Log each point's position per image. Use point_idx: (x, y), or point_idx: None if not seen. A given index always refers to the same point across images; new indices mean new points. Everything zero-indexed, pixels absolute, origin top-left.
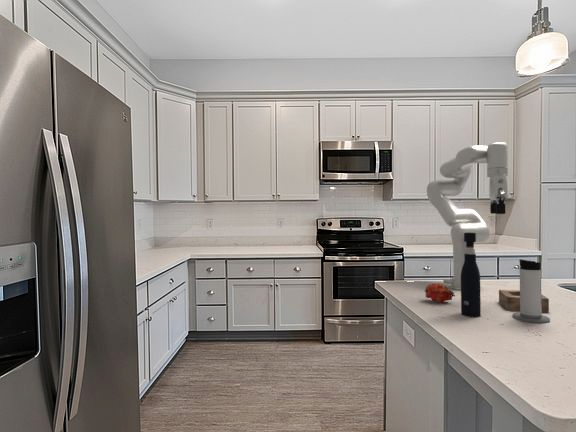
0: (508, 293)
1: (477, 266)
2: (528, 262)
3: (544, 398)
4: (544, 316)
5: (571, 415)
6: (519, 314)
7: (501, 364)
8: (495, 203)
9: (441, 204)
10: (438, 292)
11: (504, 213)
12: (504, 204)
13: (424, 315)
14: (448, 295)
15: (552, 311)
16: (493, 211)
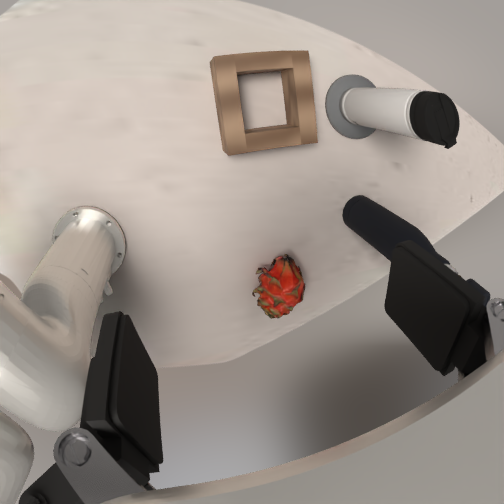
0: (274, 134)
1: (428, 242)
2: (456, 130)
3: None
4: (347, 79)
5: None
6: (347, 123)
7: (487, 188)
8: (130, 458)
9: None
10: (304, 288)
11: (407, 245)
12: (479, 301)
13: (370, 278)
14: (295, 267)
15: (282, 45)
16: (148, 373)
